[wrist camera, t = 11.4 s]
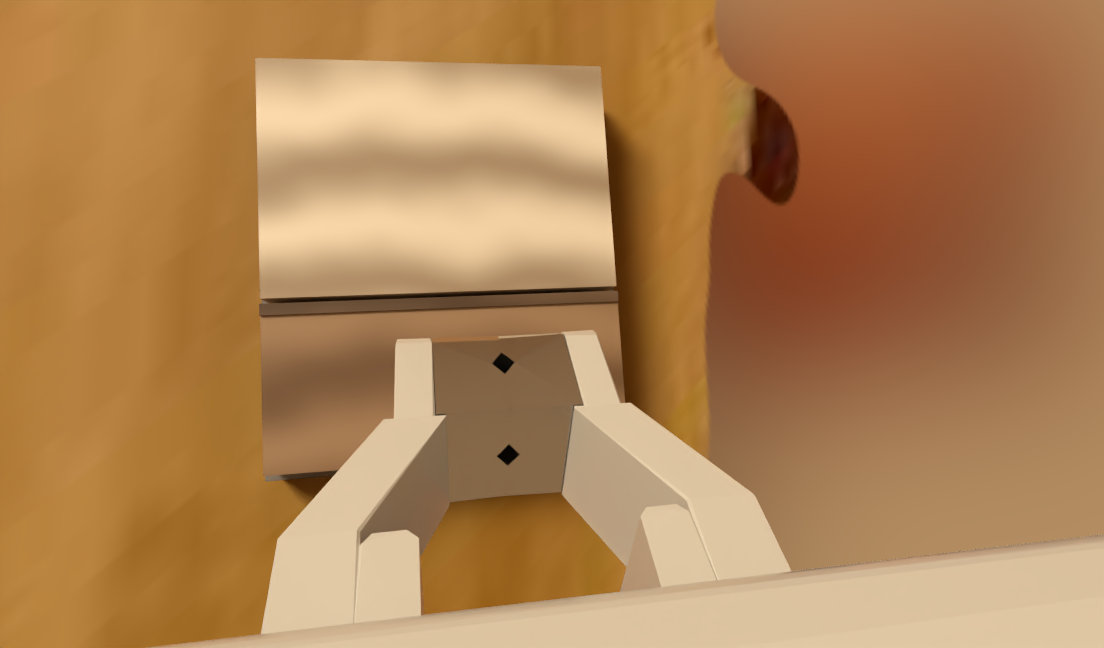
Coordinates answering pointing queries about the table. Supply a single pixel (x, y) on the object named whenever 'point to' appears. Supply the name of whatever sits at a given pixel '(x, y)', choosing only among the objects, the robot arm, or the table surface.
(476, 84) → the plank
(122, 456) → the table surface
